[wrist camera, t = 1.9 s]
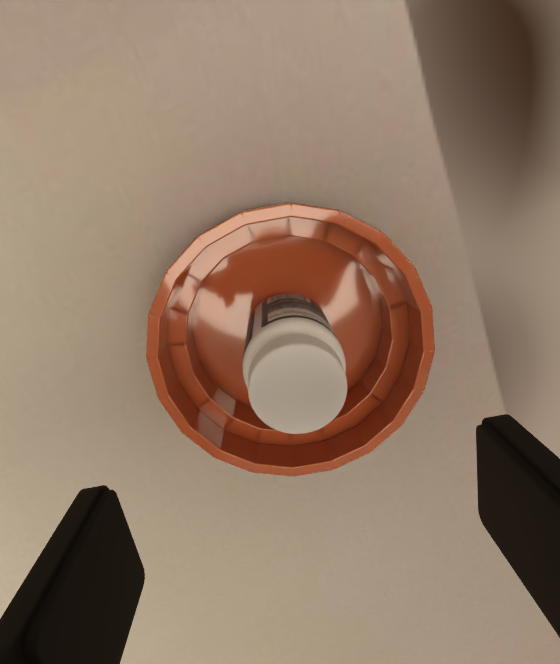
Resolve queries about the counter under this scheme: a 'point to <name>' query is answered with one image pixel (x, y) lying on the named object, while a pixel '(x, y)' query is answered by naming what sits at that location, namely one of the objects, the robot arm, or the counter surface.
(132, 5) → the counter surface
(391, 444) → the counter surface
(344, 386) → the pill bottle
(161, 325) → the bowl
